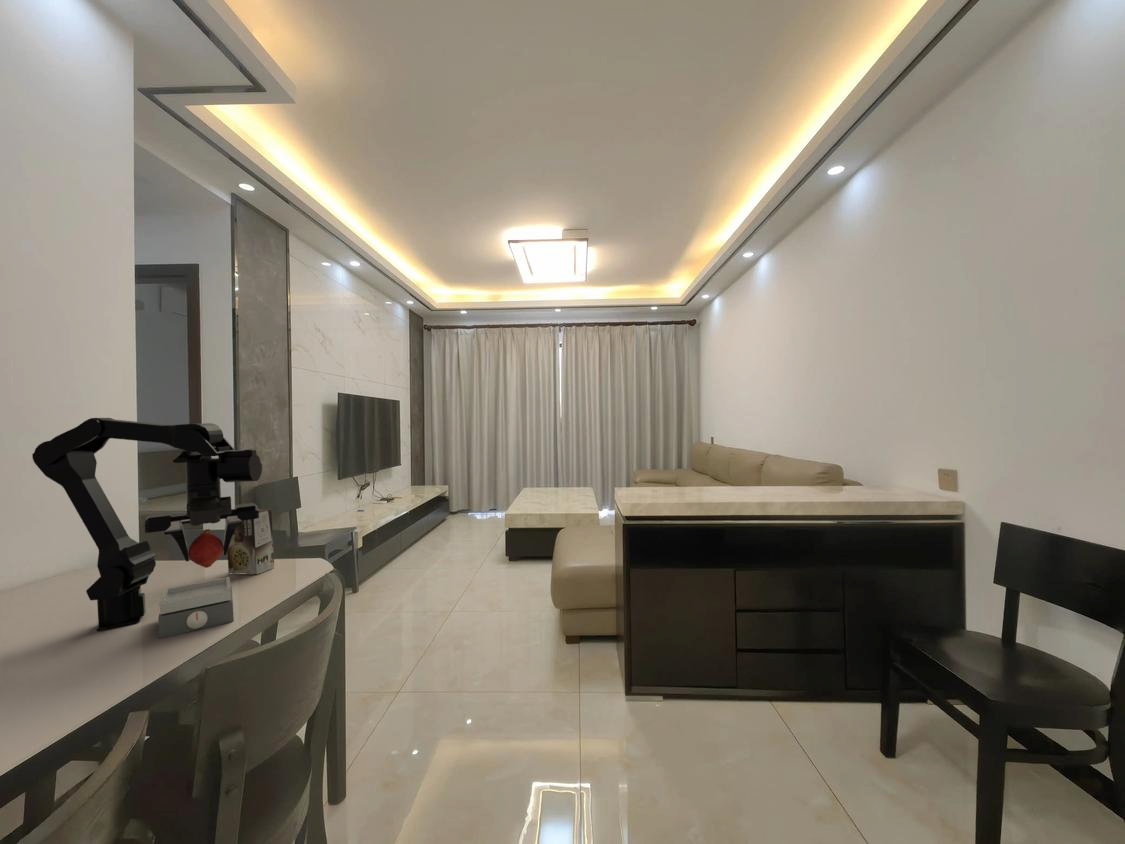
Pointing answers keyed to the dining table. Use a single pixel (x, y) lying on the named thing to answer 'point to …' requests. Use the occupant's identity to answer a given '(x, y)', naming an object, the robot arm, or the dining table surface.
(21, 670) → the dining table surface
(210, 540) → the onion
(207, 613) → the scale base
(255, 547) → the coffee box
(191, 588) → the scale pan
